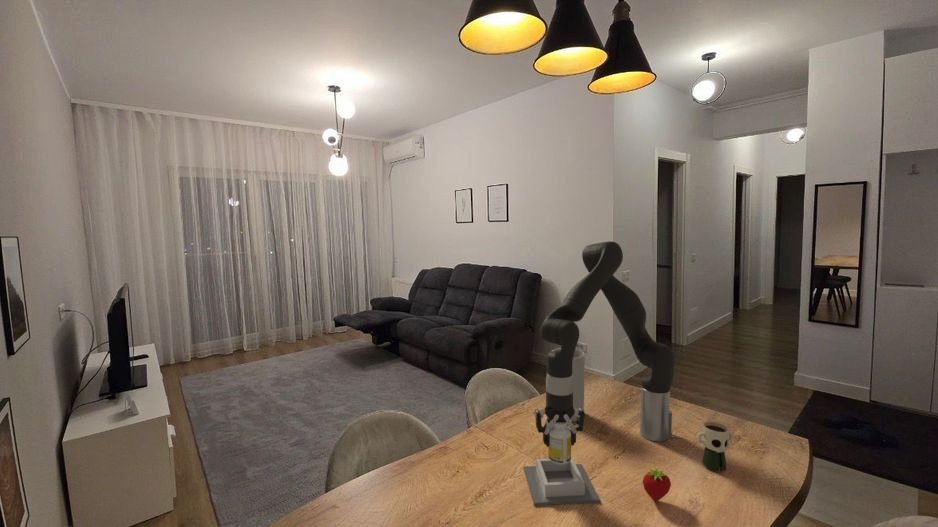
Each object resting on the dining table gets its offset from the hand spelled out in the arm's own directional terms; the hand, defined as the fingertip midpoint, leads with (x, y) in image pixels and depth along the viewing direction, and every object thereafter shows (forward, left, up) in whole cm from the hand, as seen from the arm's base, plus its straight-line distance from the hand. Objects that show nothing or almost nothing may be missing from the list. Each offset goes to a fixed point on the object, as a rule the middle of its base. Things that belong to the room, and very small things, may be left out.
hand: (559, 444), depth 115 cm
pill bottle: (0, 0, -5) cm, 5 cm away
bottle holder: (0, 0, -12) cm, 12 cm away
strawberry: (-24, +9, -12) cm, 29 cm away
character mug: (-49, -5, -12) cm, 51 cm away
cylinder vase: (-14, -41, -12) cm, 45 cm away
